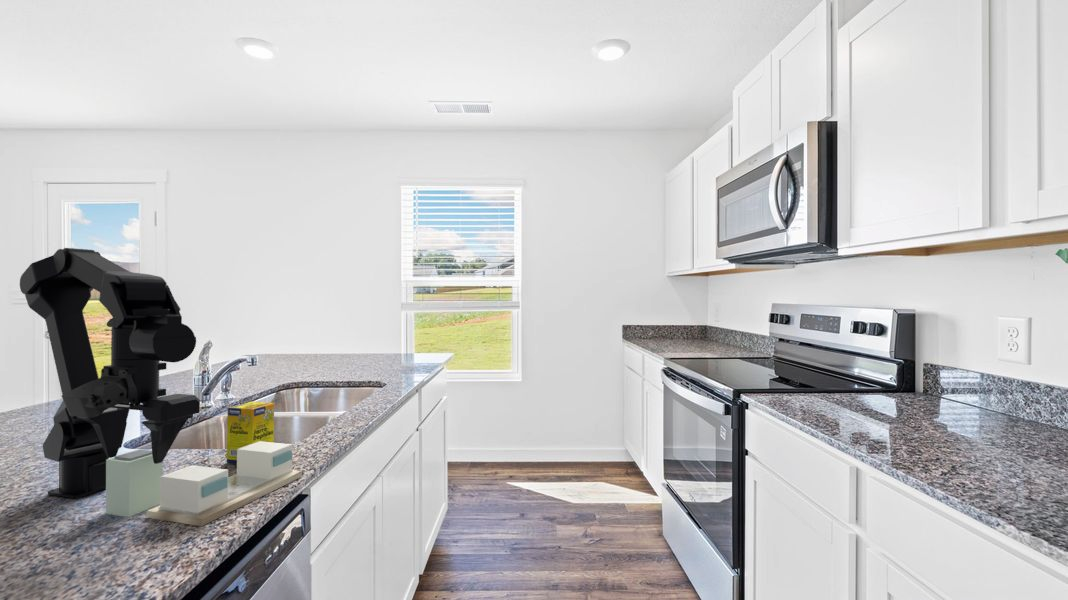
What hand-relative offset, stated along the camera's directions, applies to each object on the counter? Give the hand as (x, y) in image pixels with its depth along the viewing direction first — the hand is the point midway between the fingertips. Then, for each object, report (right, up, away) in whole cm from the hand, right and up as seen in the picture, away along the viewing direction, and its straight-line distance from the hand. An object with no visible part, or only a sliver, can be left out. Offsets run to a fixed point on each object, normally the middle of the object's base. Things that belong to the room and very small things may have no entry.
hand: (134, 460), depth 75 cm
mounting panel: (+12, -7, +5) cm, 15 cm away
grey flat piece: (+12, -7, +5) cm, 15 cm away
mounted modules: (+12, -6, +5) cm, 14 cm away
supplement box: (+5, -8, +22) cm, 24 cm away
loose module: (0, -7, 0) cm, 7 cm away
